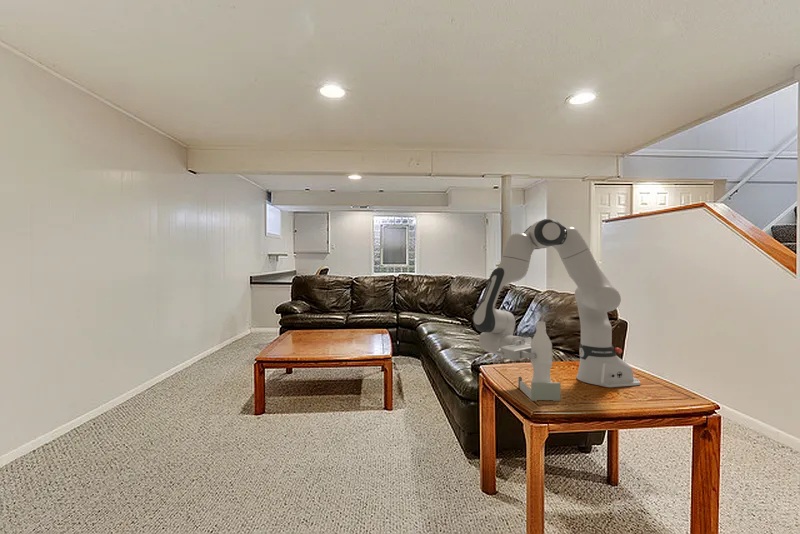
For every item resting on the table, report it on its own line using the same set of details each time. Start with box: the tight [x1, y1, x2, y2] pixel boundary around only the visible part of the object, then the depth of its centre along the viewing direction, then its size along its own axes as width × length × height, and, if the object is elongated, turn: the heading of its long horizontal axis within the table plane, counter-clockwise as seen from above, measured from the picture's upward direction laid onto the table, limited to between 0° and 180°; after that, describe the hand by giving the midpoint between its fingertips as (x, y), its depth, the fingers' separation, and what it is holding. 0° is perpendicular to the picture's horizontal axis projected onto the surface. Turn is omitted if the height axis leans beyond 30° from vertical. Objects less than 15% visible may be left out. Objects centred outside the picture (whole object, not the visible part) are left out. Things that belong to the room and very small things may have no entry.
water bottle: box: [530, 320, 553, 384], centre depth 131 cm, size 7×7×25 cm
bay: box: [518, 376, 562, 402], centre depth 134 cm, size 10×14×6 cm
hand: (543, 354), depth 130 cm, fingers closed on water bottle, 7 cm apart
